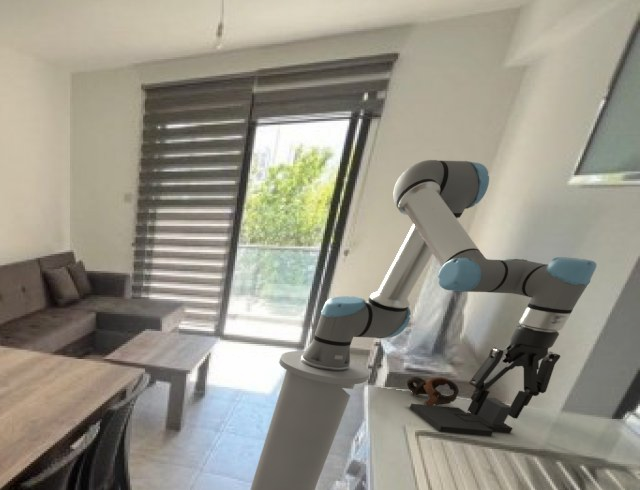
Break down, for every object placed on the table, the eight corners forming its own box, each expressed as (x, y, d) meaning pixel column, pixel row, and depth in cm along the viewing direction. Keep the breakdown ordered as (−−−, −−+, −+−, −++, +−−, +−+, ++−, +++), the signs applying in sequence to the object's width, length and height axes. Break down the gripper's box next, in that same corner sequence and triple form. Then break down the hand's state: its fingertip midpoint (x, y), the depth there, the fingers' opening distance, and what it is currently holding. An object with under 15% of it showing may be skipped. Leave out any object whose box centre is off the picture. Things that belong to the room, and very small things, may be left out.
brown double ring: (447, 401, 139) (467, 383, 132) (436, 422, 136) (455, 406, 129) (404, 381, 144) (421, 363, 136) (392, 401, 140) (408, 384, 133)
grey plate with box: (449, 416, 129) (460, 393, 125) (488, 419, 127) (500, 397, 124) (468, 429, 122) (480, 406, 118) (509, 433, 120) (523, 410, 117)
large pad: (409, 408, 132) (411, 403, 131) (456, 412, 131) (458, 407, 130) (439, 431, 120) (441, 426, 119) (491, 436, 119) (494, 431, 118)
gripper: (500, 328, 110) (455, 416, 121) (603, 336, 108) (549, 425, 119) (478, 320, 117) (438, 404, 127) (575, 327, 114) (526, 412, 125)
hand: (491, 414), depth 123 cm, fingers open, 9 cm apart
